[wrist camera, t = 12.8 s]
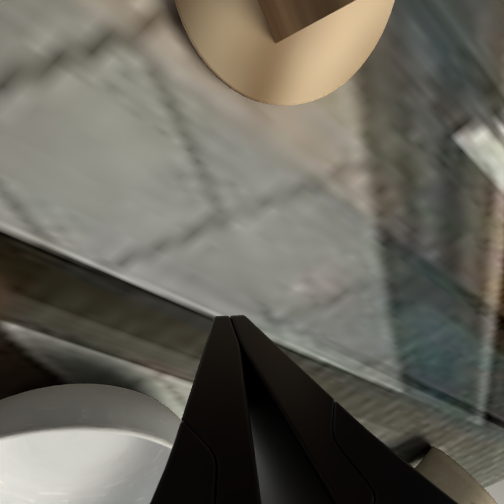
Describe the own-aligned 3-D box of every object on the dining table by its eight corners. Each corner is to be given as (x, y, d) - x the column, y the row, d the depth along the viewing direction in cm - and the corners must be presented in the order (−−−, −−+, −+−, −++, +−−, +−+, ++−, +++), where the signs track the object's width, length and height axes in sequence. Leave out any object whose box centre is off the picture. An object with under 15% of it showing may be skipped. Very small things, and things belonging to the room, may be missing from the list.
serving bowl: (-129, 443, 22) (-238, 567, 17) (86, 299, 21) (52, 377, 15) (84, 512, 33) (64, 602, 27) (237, 418, 32) (252, 492, 26)
